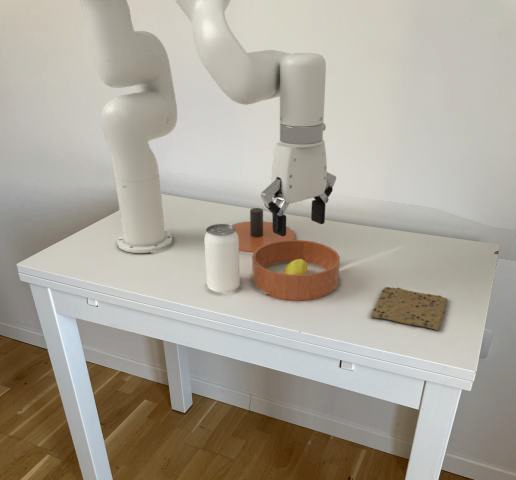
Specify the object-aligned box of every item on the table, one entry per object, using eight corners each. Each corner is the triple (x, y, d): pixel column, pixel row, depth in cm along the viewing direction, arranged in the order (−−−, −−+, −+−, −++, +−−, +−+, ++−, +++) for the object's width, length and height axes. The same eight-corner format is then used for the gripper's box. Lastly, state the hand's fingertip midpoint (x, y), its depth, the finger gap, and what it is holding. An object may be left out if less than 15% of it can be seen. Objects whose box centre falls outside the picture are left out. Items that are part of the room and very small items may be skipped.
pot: (235, 277, 111) (235, 253, 108) (299, 255, 119) (300, 233, 117) (290, 309, 99) (290, 284, 96) (355, 283, 108) (358, 259, 105)
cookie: (439, 331, 93) (440, 326, 92) (370, 317, 97) (370, 312, 96) (447, 300, 102) (448, 295, 101) (384, 288, 106) (384, 284, 105)
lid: (204, 236, 129) (202, 207, 125) (263, 220, 138) (263, 192, 134) (248, 261, 117) (248, 230, 113) (310, 241, 126) (312, 212, 122)
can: (227, 297, 103) (225, 238, 97) (200, 289, 106) (196, 231, 100) (246, 284, 108) (245, 227, 101) (219, 276, 111) (217, 220, 104)
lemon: (312, 273, 111) (313, 256, 109) (296, 289, 105) (297, 271, 103) (293, 269, 113) (294, 252, 111) (277, 285, 107) (277, 267, 105)
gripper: (322, 124, 101) (318, 213, 110) (248, 137, 92) (251, 233, 101) (351, 130, 96) (345, 223, 105) (276, 145, 87) (276, 245, 96)
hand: (299, 228), depth 103 cm, fingers open, 9 cm apart
